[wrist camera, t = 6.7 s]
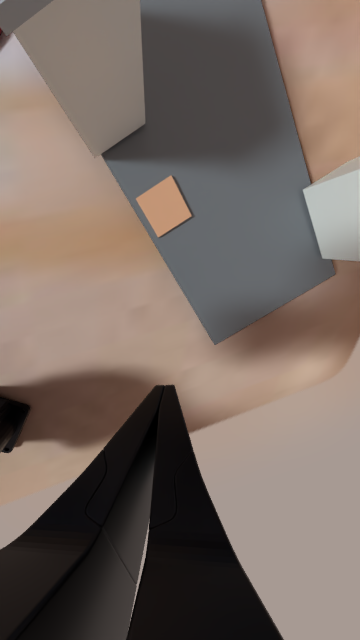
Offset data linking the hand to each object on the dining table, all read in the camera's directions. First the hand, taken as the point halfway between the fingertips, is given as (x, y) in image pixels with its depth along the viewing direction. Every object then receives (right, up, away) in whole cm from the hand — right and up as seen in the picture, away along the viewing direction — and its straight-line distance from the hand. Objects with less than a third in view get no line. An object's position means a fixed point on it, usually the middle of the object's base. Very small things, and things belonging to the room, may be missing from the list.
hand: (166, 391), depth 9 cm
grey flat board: (+3, +14, +7) cm, 16 cm away
